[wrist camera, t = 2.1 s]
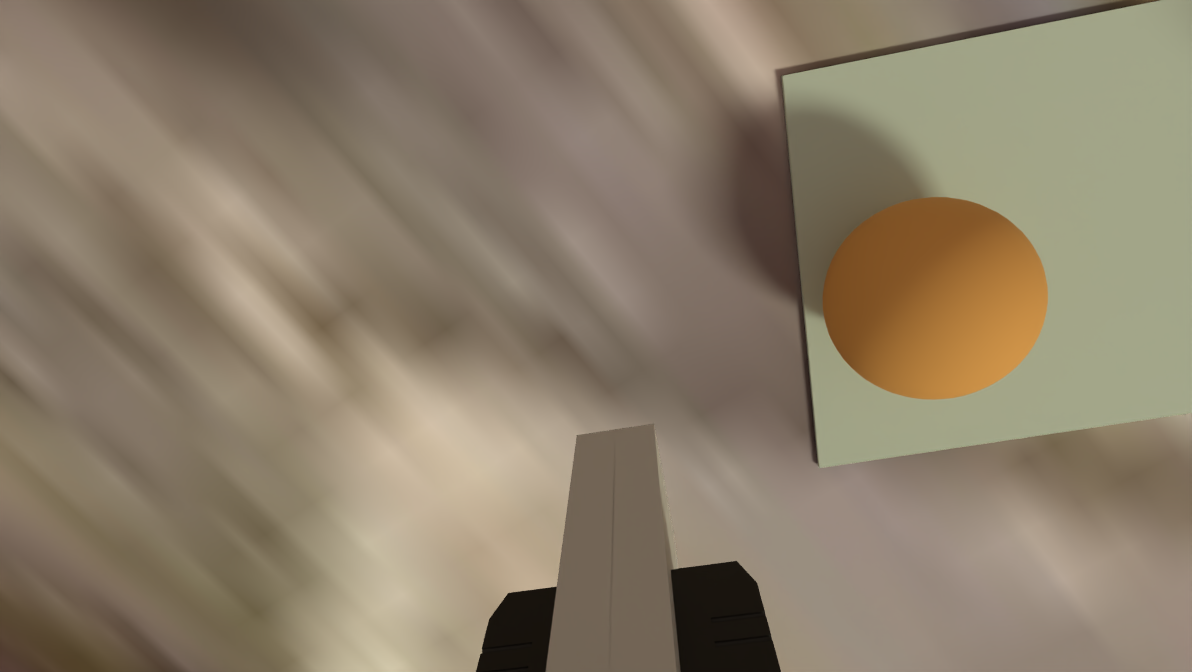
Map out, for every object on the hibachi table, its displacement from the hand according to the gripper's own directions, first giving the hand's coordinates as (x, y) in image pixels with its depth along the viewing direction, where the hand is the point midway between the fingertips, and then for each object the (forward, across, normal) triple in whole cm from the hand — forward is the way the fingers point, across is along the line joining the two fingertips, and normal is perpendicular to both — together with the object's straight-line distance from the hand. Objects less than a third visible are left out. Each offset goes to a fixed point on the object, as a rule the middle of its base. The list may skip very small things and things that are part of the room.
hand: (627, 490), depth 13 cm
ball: (+8, -9, 0) cm, 12 cm away
